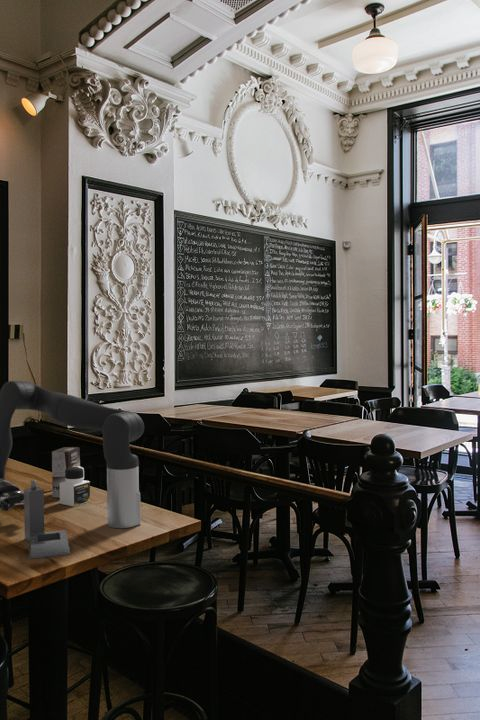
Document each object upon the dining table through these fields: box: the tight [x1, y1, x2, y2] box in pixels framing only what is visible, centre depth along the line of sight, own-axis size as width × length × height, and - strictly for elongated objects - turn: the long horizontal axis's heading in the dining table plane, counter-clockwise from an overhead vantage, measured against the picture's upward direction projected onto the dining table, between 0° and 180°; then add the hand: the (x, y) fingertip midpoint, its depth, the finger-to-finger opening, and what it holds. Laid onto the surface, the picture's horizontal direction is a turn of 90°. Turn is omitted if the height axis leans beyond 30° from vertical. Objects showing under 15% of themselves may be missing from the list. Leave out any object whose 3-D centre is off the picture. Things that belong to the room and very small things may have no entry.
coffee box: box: [51, 446, 81, 498], centre depth 210 cm, size 9×6×16 cm
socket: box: [28, 529, 71, 560], centre depth 156 cm, size 10×10×3 cm
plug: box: [23, 479, 46, 544], centre depth 164 cm, size 4×4×16 cm
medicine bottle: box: [59, 466, 91, 507], centre depth 199 cm, size 7×7×12 cm
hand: (22, 505), depth 171 cm, fingers open, 8 cm apart
